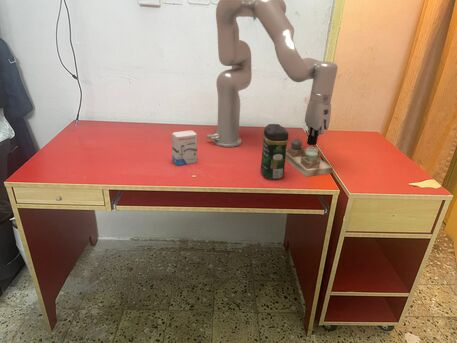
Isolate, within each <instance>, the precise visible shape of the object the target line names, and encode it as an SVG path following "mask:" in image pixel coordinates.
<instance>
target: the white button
mask: <svg viewBox="0 0 457 343" xmlns="http://www.w3.org/2000/svg"><path fill="white" fill-rule="evenodd" d="M306 149H307V150H314V151H317V152H318V153H319V148H318V147H316V146H307V147H306Z"/></svg>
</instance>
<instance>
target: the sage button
mask: <svg viewBox="0 0 457 343" xmlns="http://www.w3.org/2000/svg"><path fill="white" fill-rule="evenodd" d="M318 153H319V151H318V152H317V151H314V150H307V151H306V153H305V155H306V158H305V159H306V160H307V161H308V162H312V161H316V157H317V155H318Z"/></svg>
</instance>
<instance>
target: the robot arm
mask: <svg viewBox="0 0 457 343" xmlns="http://www.w3.org/2000/svg"><path fill="white" fill-rule="evenodd" d="M286 12H287V5H286V3H285V1H284V0H219V1H218V2H217V4H216V9H215V19H216V28H217V30H216V31H217V32H216V33H217V50H218V53H217V54H218V59H219V62H220V64H222V65H223V66H225V67H231V68H229V69H226V70H223V71H222V72H220V73H219V75H218V76H217V78H216V90H217V124H216V125H217V130H216V131H214V132H213V133H212V134H211V133H209V134H206V136H205V137H206V140H209V139H210V140H211V141H213V143H214V144H215V145H217V146H219V147H225V148H232V147H233V148H234V147H238V146H240V145H242V141H243V140H242V139H241V138H240V137H239V131H240V117H241V116H240V115H241V99H240V93H239V92H240V91H243V90H245V89H247V88H248V87H249V86H250V84H251V82H252V72H253V71H252V52H251V48H250V46H249V44H248V43H247V42H246V41H245V40H242V39H240V29H239V24H238V22H237V18H239V17H241V18H242V17H243V18H245V17H248V18H249V17H250V18H256V19H258V21H259V23H261V26H262V27H263V28H264V30H265V31H266V33H267V35H268V36H269V38H270V39H271V41H272V43H273V45H274V51H275V55H276V58H277V61H278V62H279V64H280V66H281V68H282V69H283V71H284V72H285V74H286V76H287V77H288V78H289V79H290V80H291V81H292V82H295V83H302V82H303V83H304V82H305V81H309V80H312V84H311V91H310V95H309V100H308V104H307V108H306V110H305V117H304V123H305V126H306V127H307V129H308V130H307V131H308V137H307V141H306V144H307V145H308V146H316V145H317V142H318V139H319V138H318V137H319V136H320V135H324V134H325V131H327V130H329V128H330V121H331V115H332V104H331V101H332V97H333V93H334V88H335V83H336V78H337V73H338V68H339V67H338V64H337V63H334V62H331V61H324V60H323V61H322V60H318V59H315V58H312V57H305V58H302V57H301V55H300V53H299V52H298V50H297V48H296V46H295V43H294V35H295V28H294V25H293V24H292V23H291V22H290V20H289V19H288V17H287V15H286Z"/></svg>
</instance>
